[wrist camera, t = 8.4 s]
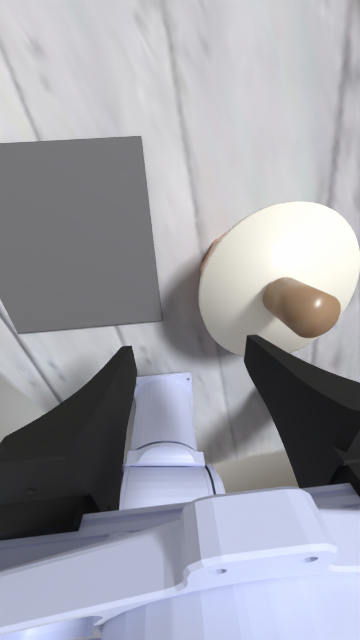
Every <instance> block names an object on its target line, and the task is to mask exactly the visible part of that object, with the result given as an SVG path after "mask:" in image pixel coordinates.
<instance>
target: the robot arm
mask: <svg viewBox="0 0 360 640" xmlns="http://www.w3.org/2000/svg"><path fill="white" fill-rule="evenodd" d="M244 363H245V365H246V368H247V371H248V373H249V375H250V377H251V379H252V381H253V383H254V385H255V386H256V388H257V390H258V392H259V393H260V395H261V397H262V399H263V401H264V402H265V404H266V406H267V408H268V410H269V412H270V414H271V416H272V419H273V421H274V423H275V425H276V428H277V430H278V433H279V435H280V437H281V440H282V442H283V445H284V447H285V450H286V453H287V455H288V458H289V460H290V463H291V466H292V468H293V471H294V474H295V477H296V480H297V483H298V486H299V488H298V487H276V488H267V489H259V490H251V491H242V492H234V493H225V490H224V486H223V483H222V480H221V478H220V476H219V474H218V473H217V471H216V470H215V468H214V467H213V466H212V465H211V464H205V461H204V455H203V452H199V451H198V449H197V443H196V436H195V429H194V422H193V399H192V378H191V373H190V372H181V373H171V374H161V375H151V376H141V377H137V368H136V364H135V359H134V354H133V350H132V346H123V347H121V348H120V349H119V350H118V351H117V353H116V354H115V355H114V356H113V357H112V358H111V359H110V360H109V362H108V363H107V364H106V365H105V366H104V367H103V368H102V369H101V370H100V371H99V372H98V373H97V374H96V375H95V376H94V377H93V378H92V379H91V380H90V381H89V382H88V383H87V384H85V385H84V386H83V387H82V388H81V389H80V390H78V391H77V392H76V393H75V394H73V395H72V396H71V397H69V398H68V399H66V400H65V401H64V402H62V403H61V404H60V405H58V406H57V407H55V408H54V409H52V410H51V411H49V412H48V413H46V414H44V415H43V416H41V417H40V418H38V419H36V420H35V421H33V422H31V423H29V424H28V425H26V426H24V427H22V428H21V429H19V430H17V431H15V432H13V433H12V434H9V435H8V436H6V437H4V439H3V440H2V441H1V443H0V640H360V383H359V382H356V381H353V380H350V379H347V378H344V377H341V376H338V375H336V374H333V373H330V372H328V371H325V370H323V369H320V368H318V367H316V366H313V365H311V364H309V363H307V362H305V361H303V360H301V359H299V358H297V357H295V356H293V355H291V354H289V353H288V352H286V351H284V350H282V349H281V348H279V347H277V346H276V345H274V344H272V343H271V342H269V341H267V340H266V339H264V338H262V337H260V336H259V335H257V334H255V335H247V338H246V346H245V355H244ZM186 378H189V379H186ZM133 397H135V402H136V413H135V419H134V426H133V433H132V439H131V446H130V451H128V453H127V459H126V465H124V464H123V458H124V448H125V440H126V431H127V425H128V419H129V415H130V410H131V406H132V401H133Z"/></svg>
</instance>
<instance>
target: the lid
mask: <svg viewBox="0 0 360 640" xmlns="http://www.w3.org/2000/svg"><path fill="white" fill-rule="evenodd" d="M359 270H360V251H359V245H358V242H357V239H356V236H355V234H354V232H353V230H352V228H351V227H350V225H349V224H348V223H347V222H346V220H345V219H344V218H343V217H342V216H340V215H339V214H338V213H337V212H335V211H334V210H332V209H330V208H328V207H326V206H323V205H320V204H317V203H311V202H288V203H282V204H277V205H272V206H269V207H266V208H263V209H260V210H258V211H256V212H254V213H252V214H250V215H248V216H247V217H245V218H244V219H242V220H241V221H239V222H238V223H237V224H236V225H234V226H233V227H232V228H231V229H230V230H229V231H228V232H227V233H226V234H225V235H224V236H223V237H222V238H221V239H220V241H219V242H218V243H217V245H216V246H215V247H214V249H213V250H212V252H211V254H210V256H209V257H208V259H207V261H206V264H205V266H204V269H203V272H202V275H201V279H200V284H199V296H198V300H199V308H200V312H201V316H202V319H203V321H204V324H205V326H206V328H207V330H208V332H209V333H210V335H211V336H212V337H213V339H214V340H215V341H216V342H217V343H218V344H219V345H221V346H222V347H223V348H225V349H226V350H228V351H230V352H232V353H234V354H236V355H239V356H243V357H244V355H245V346H246V338H247V335H255V334H257V335H259V336H260V337H262V338H264V339H266V340H267V341H269V342H271V343H272V344H274V345H276V346H277V347H279V348H281V349H282V350H284V351H286V352H288V353H292V352H294V351H297V350H299V349H301V348H303V347H305V346H306V345H308V344H310V343H311V342H313V341H314V340H316V339H317V338H318V337H320V336H321V335H322V334H324V333H326V332H327V331H329V330H330V329H331V328H332V327H333V326H334V325H335V323H336V322H337V320H338V318H339V317H340V315H341V314H342V313H343V311H344V310H345V308H346V306H347V305H348V303H349V301H350V299H351V297H352V295H353V293H354V290H355V287H356V284H357V280H358V277H359Z"/></svg>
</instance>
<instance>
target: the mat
mask: <svg viewBox="0 0 360 640" xmlns="http://www.w3.org/2000/svg"><path fill="white" fill-rule="evenodd" d="M0 299H1V301H2V303H3V305H4V307H5V309H6V311H7V313H8V315H9V317H10V319H11V321H12V323H13V325H14V327H15V329H16V331H17V333H27V332H39V331H50V330H61V329H72V328H84V327H95V326H106V325H117V324H129V323H140V322H151V321H162V312H161V303H160V295H159V286H158V277H157V269H156V260H155V251H154V243H153V234H152V225H151V217H150V208H149V199H148V191H147V182H146V173H145V165H144V156H143V147H142V139H141V136H130V137H111V138H93V139H74V140H55V141H37V142H18V143H0Z"/></svg>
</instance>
